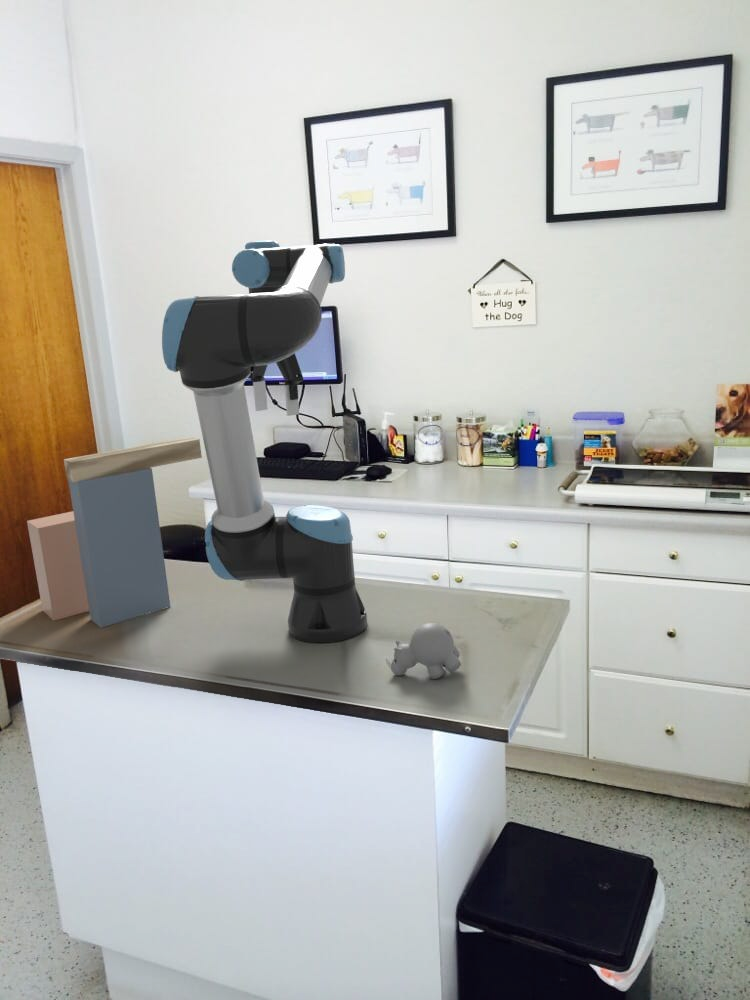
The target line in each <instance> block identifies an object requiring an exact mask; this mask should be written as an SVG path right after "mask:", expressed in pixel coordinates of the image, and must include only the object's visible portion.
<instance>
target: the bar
mask: <svg viewBox="0 0 750 1000" xmlns="http://www.w3.org/2000/svg"><path fill="white" fill-rule="evenodd" d="M202 457H203V456H202V448H201V440H200V438H196V437H193V436H190V437H183V438H179V439H171V440H167V441H161V442H155V443H150V444H144V445H139V446H138V445H137V446H132V447H125V448H121V449H120V448H119V449H116V450H109V451H105V452H99V453H91V454H87V455H82V456H74V457H70V458H64V459H63V463H64V468H65V469H64V471H65V475H66V480H67V481H68V480H70V481H72V482H78V481H83V480H88V479H94V478H99V477H104V476H109V475H114V474H120V473H125V472H130V471H135V470H141V469H146V468H155V467H160V466H165V465H166V466H167V465H171V464H176V463H182V462H187V461H191V460H196V459H202Z"/></svg>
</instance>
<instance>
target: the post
mask: <svg viewBox="0 0 750 1000" xmlns="http://www.w3.org/2000/svg"><path fill="white" fill-rule="evenodd" d="M67 481H68V486H69V492H70V493H69V494H70V499H71V505H72V511H73V513H74V519H75V525H76V531H77V537H78V544H79V550H80V556H81V562H82V569H83V575H84V581H85V587H86V593H87V600H88V606H89V611H88V612H89V617H90V620H91V621H92V622H93V623H94V624H96V625H97V626H98V627H99V628H104V627H108V626H110V625H114V624H117V623H122V622H124V621H128V620H131V618H132V619H135V618H138V617H137V616H139V617H141V616H140V615H142V614H145V615H147V614H146V613H149V612H152V613H154V612H153V611H156V610H159V611H161V610H160V609H163V608H166V607H169V608H171V600H170V593H169V586H168V580H167V571H166V570H167V569H166V564H165V556H164V550H163V549H164V548H163V541H162V535H161V527H160V521H159V519H160V518H159V511H158V503H157V497H156V491H155V490H156V489H155V482H154V474H153V467H151V468H146V469H141V470H135V471H130V472H125V473H120V474H114V475H109V476H104V477H99V478H94V479H88V480H83V481H78V482H72V481H70V480H67ZM166 609H167V608H166ZM163 610H164V609H163ZM156 612H157V611H156ZM149 614H150V613H149ZM142 616H143V615H142ZM134 617H135V618H134Z"/></svg>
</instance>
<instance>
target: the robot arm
mask: <svg viewBox="0 0 750 1000" xmlns="http://www.w3.org/2000/svg"><path fill="white" fill-rule="evenodd" d="M344 253H345V252H344V250H343V248H342V246H341V245H340V244H338V243H337V244H335V243H322V244H315V245H314V244H311V245H302V246H301V245H300V246H299V245H298V246H290V247H289V246H286V247H285V246H283V247H280V243H278V241H276V240H260V241H259V240H257V241H250V242H247V243H246V244H245V245H244V249H243V250H241V251H239V252H238V253H237V254H236V255H235V256H234V258H233V260H232V263H231V272H232V275H233V277H234V279H235V280H236V282H237V283H239V284H240V286H244V287H246V288H248V293H247V294H229V295H228V294H227V295H210V296H208V295H207V296H198V295H197V296H194V297H189V298H179V299H176V300H174V301H172V302H171V303H170V304H169V306H168V307H167V309H166V311H165V313H164V314H165V315H164V317H163V322H162V329H161V347H162V348H161V349H162V350H161V351H162V356H163V360H164V361H163V362H164V364H165V366H166V368H167V369H168V371H171V372H173V373H177V372H179V374H180V379H181V384H182V385H183V386H184V387H186V388H187V389H189V390H190V391H191V392H193V395H194V401H195V406H196V411H197V417H198V420H199V426H200V430H201V436H202V440H203V445H204V449H205V454H206V455H205V456H206V459H207V464H208V465H207V466H208V469H209V475H210V479H211V484H212V490H213V495H214V499H215V503H216V509H215V510H214V511H213V513H212V514H211V517H210V518H211V519H210V521H208V522H207V525H206V527H205V531H204V542H205V545H206V546H205V552H206V557H207V560H208V563H209V565H210V567H211V568H210V569H211V570H212V571H213V573H214V574H215V575H216V576H217V577H218V578H220V579H222V580H226V581H227V580H228V581H229V580H230V581H238V582H239V581H240V582H242V581H243V582H244V581H246V580H247V581H248V580H249V581H250V580H251V581H252V580H273V579H274V580H275V579H292V581H293V590H294V591H293V596H292V601H291V605H290V610H289V615H288V618H287V624H288V625H287V628H288V633H289V634H290V636H292V638H295V639H296V640H299V641H303V642H307V643H318V644H322V643H323V644H324V643H334V642H339V641H343V640H348V639H350V638H353V636H354V637H356V636H358V635H360V634H362V633H363V632H364V631H365V630H366V628H367V626H368V615H367V611H366V608H365V605H364V603H363V601H362V598H361V596H360V594H359V592H358V589H357V586H356V579H355V578H356V577H355V566H354V553H353V551H354V550H353V539H354V537H353V534H352V529H351V522H350V518H349V517H348V515H347V514H346V513H345V512H343V511H342V510H340V509H337V508H335V507H330V506H327V505H326V506H325V505H315V504H314V505H311V504H310V505H309V504H308V505H303V506H294V507H292V508H290V509H289V510H288V511H287V513H286V516H275V515H276V514H275V509H274V506H273V504H271V503H270V502H269V501H267V500H265V499H264V493H263V492H264V491H263V487H262V482H261V475H260V470H259V463H258V458H257V452H256V448H255V442H254V441H255V440H254V436H253V430H252V424H251V419H250V417H251V416H250V412H249V406H248V400H247V395H246V390H245V382H247V380H249V379H250V381H251V382H252V387H253V394H254V395H253V396H254V405H255V406H254V408H255V412H261V411H265V410H268V399H267V390H266V389H267V386H266V381H265V380H266V379H265V373H266V372H267V368H268V365H272V364H275V363H276V366H277V367H278V370H279V372H280V373H281V375H282V377H283V379H284V381H285V382H284V384H283V385H284V394H285V397H284V398H285V406H286V416H290V417H291V416H297V415H300V407H299V406H300V405H299V389H298V386H299V383H301V382H303V381H304V375H303V373H302V370H301V368H300V364H299V361H298V359H297V356H296V354H297V352H299V351H300V350H301V349H302V348H304V347H305V346H306V345H307V344H309V342H310V341H311V340H312V339H313V338H314V336H315V335H316V333H317V332H318V330H319V327H320V324H321V323H322V317H323V313H322V311H323V310H322V306H321V305H322V302H323V299H324V296H325V294H326V291H327V288H328V285H329V284H330V285H331V284H333V283H334V284H335V283H340V282H343V281H344V279H345V276H346V263H345V262H346V261H345V255H344ZM364 629H365V630H364ZM363 630H364V631H363Z"/></svg>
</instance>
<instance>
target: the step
mask: <svg viewBox="0 0 750 1000" xmlns="http://www.w3.org/2000/svg"><path fill="white" fill-rule="evenodd" d="M26 522H27V523H26V524H27V529H28V534H29V540H30V546H31V551H32V552H31V553H32V556H33V563H34V564H33V565H34V569H35V575H36V580H37V586H38V592H39V597H40V602H41V609H42V611H43V613H45V614H46V615H47V616H48V617H49V618H50V619H51V620H53V622H55V621H58V620H62V619H66V618H69V617H73V616H75V615H79V614H83V613H87V612H89V606H88V600H87V593H86V587H85V581H84V575H83V569H82V562H81V556H80V550H79V544H78V537H77V531H76V525H75V519H74V513H73V510H72V511H67V512H63V513H59V514H54V515H49V516H44V517H40V518H39V517H38V518H35V519H30V520H27V521H26Z"/></svg>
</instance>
